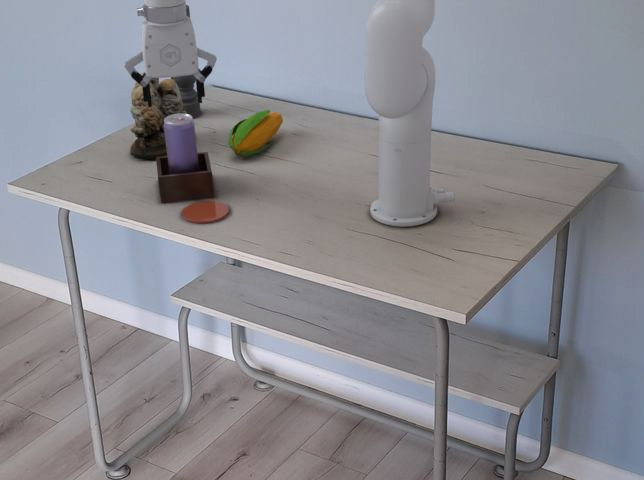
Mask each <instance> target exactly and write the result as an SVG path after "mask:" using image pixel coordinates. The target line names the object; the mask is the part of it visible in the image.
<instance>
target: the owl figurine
mask: <svg viewBox="0 0 644 480" xmlns="http://www.w3.org/2000/svg"><path fill="white" fill-rule="evenodd" d="M144 72H145V71H144ZM144 72H140V74H141V75H143V73H144ZM149 84H150V93H151V102H152V106H151V107H148V102H144V97H143V89H142V86H141V85H140V84H139V83H138V82H136V81H135V83H134V87H133V88H132V92H131V96H130V97H131V107H130V109H129V112H130V113H131V117H132V118H133V119H134V126H133V127H131V128H130V132H131V133H133V134H134V135H135V137H136V138H137V139H135V141H134V142H133V143H132V144H131V145H130V148H129V149H130V154H131V156H133V157H134V158H142V159H145V160H151V161H156V157H159V156H167V149H166V141H165V132H164V119H165V118H166V117H167V116H169V115H173V114H187V112H186V111H182V109H183V103H182V99H181V94H180V91H179V87H178V86H177V83H176V81H174V80H173V79H171V78H165V79H162V80H161V81H160V78H151V80H150V81H149Z"/></svg>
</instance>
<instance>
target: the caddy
mask: <svg viewBox="0 0 644 480" xmlns="http://www.w3.org/2000/svg"><path fill="white" fill-rule="evenodd" d="M197 155H198V164H199V172H192V173H182V174H172V175H170V174H169V166H168V157H167V156H159V157H156V160H155V162H156V170H157V171H156V172H157V182H158V188H159V189H158V190H159V199H160V204H166V203H177V202H186V201H193V200H194V201H196V200H204V199H213V198H215V190H214V189H215V188H214V177H213V170H212V165H211V160H210V157H209V151H201V152H197Z"/></svg>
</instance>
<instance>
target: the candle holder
mask: <svg viewBox="0 0 644 480" xmlns="http://www.w3.org/2000/svg"><path fill="white" fill-rule="evenodd" d="M190 11H191V10H190V5H188V4H186V14H187V17H189V18H190V19H191V12H190ZM170 79H173V80H174V81H176V83H177V86H178V87H179V91H180V94H181V99H182V103H183V109H182V111H186V112H187V114H189V115H191V116H192V117H193V119H196V118H198V117H200V116H201V113H202V112H201V103H199V102H198V98H197V90H196V89H195V88H194V87H195V84H196V79H197V78H196V77H195V76H194V75H188V76H177V77H170Z"/></svg>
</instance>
